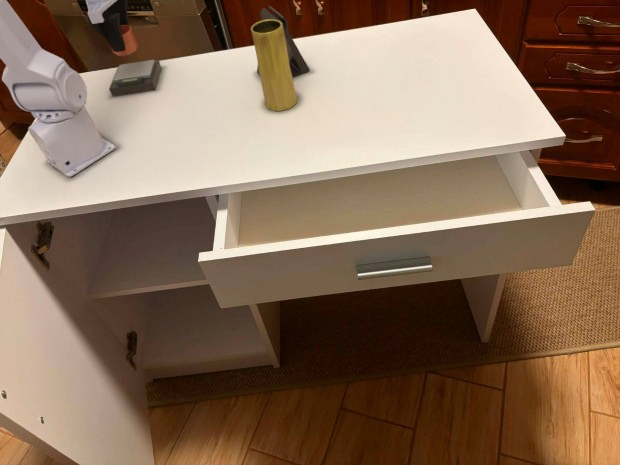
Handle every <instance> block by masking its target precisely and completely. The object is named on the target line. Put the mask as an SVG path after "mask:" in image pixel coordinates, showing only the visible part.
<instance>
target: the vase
mask: <svg viewBox="0 0 620 465" xmlns="http://www.w3.org/2000/svg"><path fill="white" fill-rule="evenodd" d="M250 31H251V36H252V41H253V46H254V50H255V54H256V55H255V56H256V60H257V67H258V66H259V71H260V75H259V77H260V83H261V89H262V93H263V98H264V106H265V107H266V109H268V110H270V111H274V112H283V111H287V110H289V109H291V108H293V107H294V106H296V104H297V103H298V100H299V98H298V95H297V91H296V87H295V83H294V77H293V78H292V74H291V70H290V66H289V59H288V53H287V47H286V41H285V35H284V28H283V24H282V22H281V21H279V20H276V19H266V20H260V21H257V22H255V23H253V24H252V25H251V27H250Z"/></svg>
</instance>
